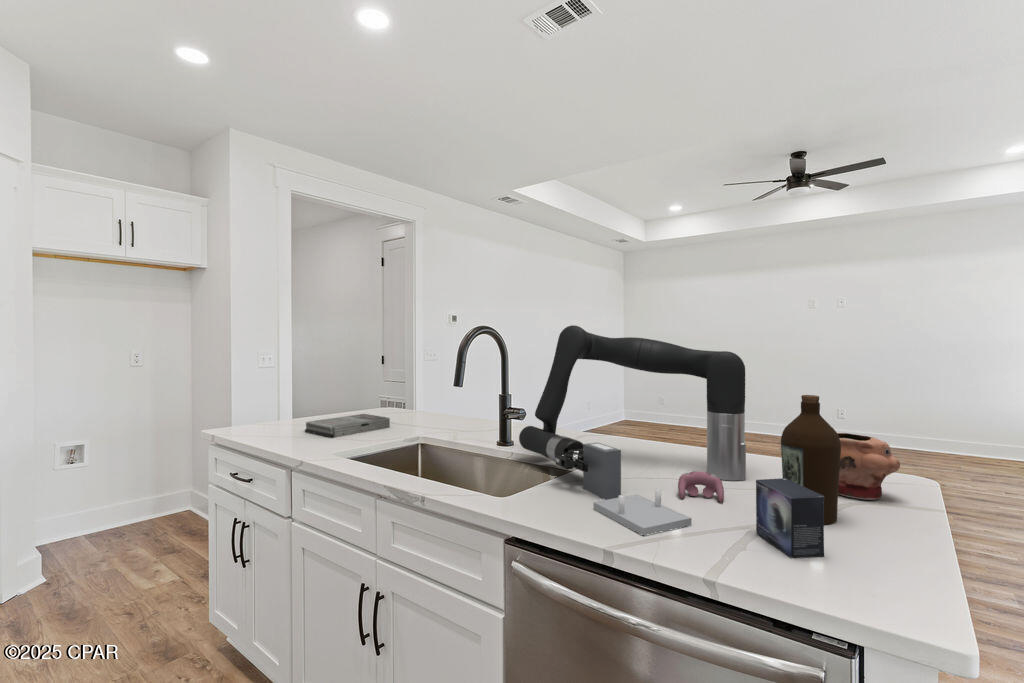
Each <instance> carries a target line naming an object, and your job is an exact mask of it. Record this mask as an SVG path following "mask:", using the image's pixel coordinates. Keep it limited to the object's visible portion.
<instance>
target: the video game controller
mask: <svg viewBox="0 0 1024 683" xmlns="http://www.w3.org/2000/svg"><path fill="white" fill-rule="evenodd" d="M697 486H704V488H703V489H702V495H703V496H704V498H706V497H707V498H706V499H711V498H712V497H713V496H714V494H716V497H717V500H718V502H719V503H720V504H723V503H724V501H725V500H724V499H725V490H724V484H723V481H722V479H719V478H718V477H717V476H716V475H713V474H709V473H707V471H706V472H705V471H699V470H698V471H690V472H689V471H688V472H684V473H682V474H681V475H680V476H679V478H678V482H677V491H678V492H677V493H678V497H679V499H680V500H684V499H685V496H686V492H687V493H688V495H689V496H690V495H691V497H693V496H695V497H697V496H698V495H699V489H698V487H697Z"/></svg>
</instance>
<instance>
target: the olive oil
mask: <svg viewBox="0 0 1024 683" xmlns="http://www.w3.org/2000/svg"><path fill="white" fill-rule="evenodd" d="M800 397H801V398H800V399H801V401H800V414H798V415H797V416H796V417H795V418H794V419H793V420H792V421H791V422H789V423H788V424H787V425H786V426H785V427H784V429H783V431H782V433H781V437H780V452H781V453H780V454H781V470H782V472H781V473H782V478H786V479H788V480H790V481H793V482H795V483H797V484H799V485H801V486H803V487H806V488H808V489H810V490H812V491H814V492H817V493H819V494H821V495H823V496H824V514H823V515H824V525H832V524H835V523H836V522H837V521H838V505H839V504H838V502H839V500H838V499H839V494H838V486H839V470H840V456H841V442H840V439H839V436H838V434H837V433H838V432H837V431H836V430H835V428H833V426H831V424H829V422H827V420H826V419H824V418H823V416H822V415H821V414H820V412H821V410H820V409H821V402H820V396H819V395H815V394H803V395H801V396H800Z"/></svg>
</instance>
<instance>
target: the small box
mask: <svg viewBox="0 0 1024 683" xmlns="http://www.w3.org/2000/svg"><path fill="white" fill-rule="evenodd" d="M755 500H756V501H755V504H756V505H755V515H756V516H755V522H756V523H755V528H756V530H755V531H756V532H755V534H757V535H758V536H760V537H761V538H762V537H763V538H762V539H764V540H765V541H767V542H768V543H770V544H771V545H772V546H774V547H775V548H776V549H778V550H779V549H780V551H781V552H783V553H784V554H785V555H787V556H788V557H789V558H791V559H795V558H796V559H797V558H798V559H799V558H800V559H801V558H818V557H819V558H820V557H821V558H824V557H825V532H824V531H825V529H824V528H825V526H824V525H825V524H824V515H823V514H824V496H823V495H821V494H819V493H817V492H814V491H812V490H810V489H808V488H806V487H803V486H801V485H799V484H797V483H795V482H793V481H790V480H788V479H786V478H783V477H782V478H763V479H755Z"/></svg>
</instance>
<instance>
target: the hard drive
mask: <svg viewBox="0 0 1024 683" xmlns="http://www.w3.org/2000/svg"><path fill="white" fill-rule="evenodd" d="M390 420H391V417H387V416H380V415H374V414H368V413H360V414H352V415H346V416H339V417H338V416H337V417H332V418H331V417H330V418H325V419H318V420H310V421H305V429H304V433H306V434H311V435H314V436H320V437H324V438H328V439H335V438H340V437H345V436H351V435H357V433H358V434H362V433H367V432H368V433H369V432H373V431H379V430H385V429H389V428H391V427H390V425H391V424H390Z"/></svg>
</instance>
